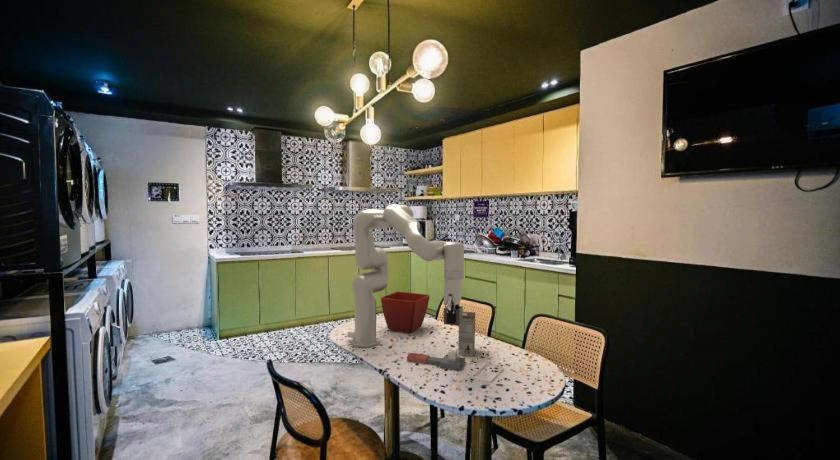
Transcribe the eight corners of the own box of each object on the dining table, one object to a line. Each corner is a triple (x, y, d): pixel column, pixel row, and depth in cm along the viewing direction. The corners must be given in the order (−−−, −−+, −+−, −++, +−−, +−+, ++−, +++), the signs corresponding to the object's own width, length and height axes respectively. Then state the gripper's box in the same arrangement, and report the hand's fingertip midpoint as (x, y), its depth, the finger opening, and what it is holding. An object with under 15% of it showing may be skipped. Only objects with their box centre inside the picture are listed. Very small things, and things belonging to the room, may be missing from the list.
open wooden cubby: (443, 324, 148) (443, 308, 148) (447, 320, 154) (447, 305, 154) (459, 325, 146) (459, 309, 146) (462, 321, 152) (462, 306, 152)
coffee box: (460, 347, 171) (460, 311, 171) (474, 348, 170) (475, 312, 170) (457, 354, 162) (458, 316, 162) (473, 356, 161) (474, 317, 161)
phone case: (490, 384, 135) (504, 370, 148) (490, 380, 135) (504, 366, 148) (470, 379, 139) (485, 366, 152) (470, 376, 139) (485, 362, 152)
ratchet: (405, 362, 153) (405, 348, 153) (412, 356, 160) (412, 342, 160) (460, 370, 146) (460, 355, 146) (464, 363, 153) (465, 349, 153)
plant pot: (430, 326, 203) (430, 294, 203) (414, 336, 186) (414, 301, 185) (397, 322, 211) (397, 291, 211) (379, 331, 194) (379, 297, 193)
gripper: (449, 271, 159) (449, 315, 160) (438, 277, 143) (437, 326, 143) (468, 272, 157) (467, 316, 157) (458, 278, 140) (457, 328, 141)
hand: (453, 320), depth 150 cm, fingers closed on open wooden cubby, 6 cm apart
